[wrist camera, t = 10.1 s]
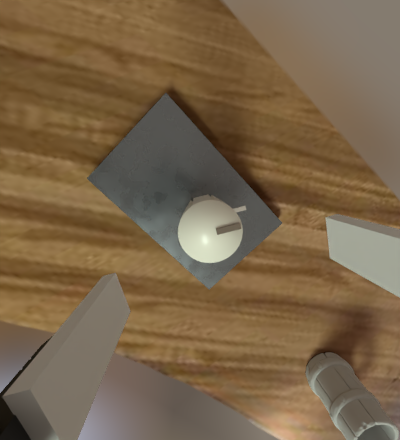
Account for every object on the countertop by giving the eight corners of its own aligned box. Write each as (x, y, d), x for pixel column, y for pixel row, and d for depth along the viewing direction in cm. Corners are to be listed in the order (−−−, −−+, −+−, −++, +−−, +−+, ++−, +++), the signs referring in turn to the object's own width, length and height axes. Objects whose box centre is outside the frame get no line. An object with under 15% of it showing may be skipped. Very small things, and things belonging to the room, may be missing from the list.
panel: (92, 178, 26) (67, 178, 20) (167, 97, 24) (161, 75, 19) (208, 283, 30) (212, 307, 25) (277, 220, 29) (298, 230, 23)
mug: (328, 342, 34) (402, 429, 22) (366, 378, 36) (451, 474, 24) (294, 370, 35) (349, 468, 23) (333, 403, 37) (401, 508, 25)
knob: (189, 245, 27) (187, 270, 20) (176, 200, 26) (169, 210, 19) (234, 234, 27) (249, 255, 20) (224, 188, 25) (235, 193, 18)
